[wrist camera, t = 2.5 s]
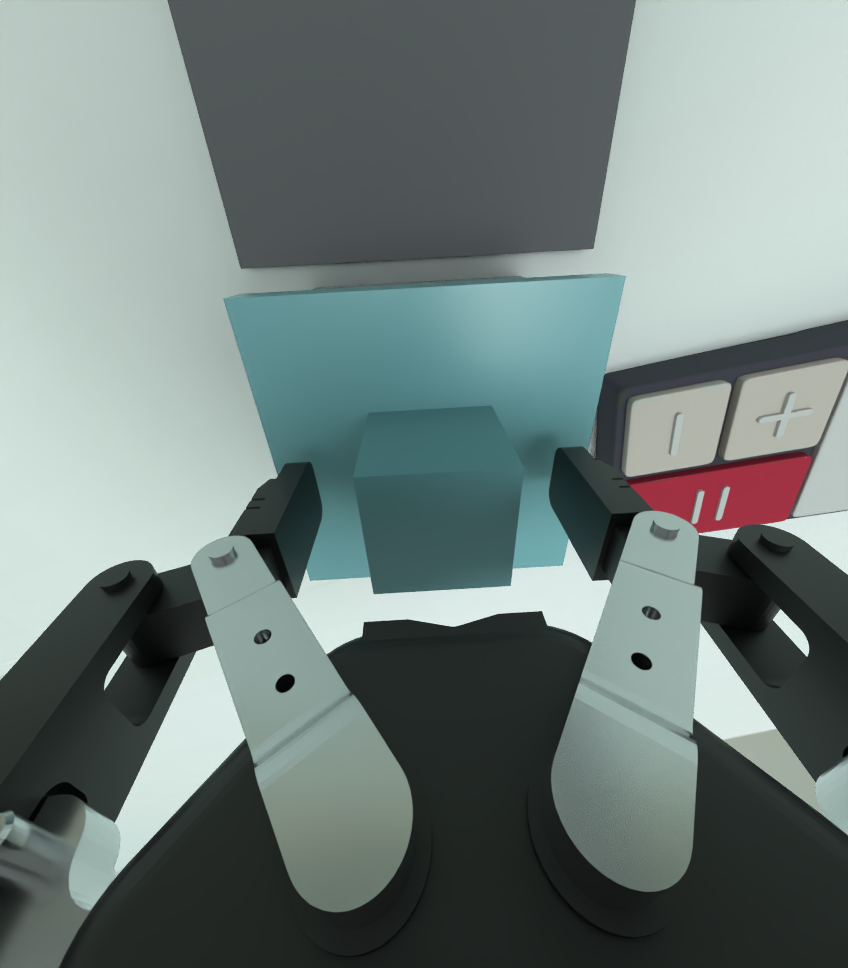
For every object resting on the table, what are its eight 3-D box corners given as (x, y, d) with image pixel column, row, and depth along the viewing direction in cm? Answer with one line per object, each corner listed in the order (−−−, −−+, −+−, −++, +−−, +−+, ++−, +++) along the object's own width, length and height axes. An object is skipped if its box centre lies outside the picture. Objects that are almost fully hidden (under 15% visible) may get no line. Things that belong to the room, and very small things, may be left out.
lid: (257, 289, 12) (129, 323, 7) (585, 270, 12) (735, 289, 7) (322, 539, 18) (283, 669, 13) (543, 525, 18) (603, 649, 13)
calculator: (624, 395, 18) (980, 326, 16) (592, 369, 22) (881, 311, 20) (611, 554, 24) (872, 517, 22) (588, 513, 28) (810, 479, 26)
